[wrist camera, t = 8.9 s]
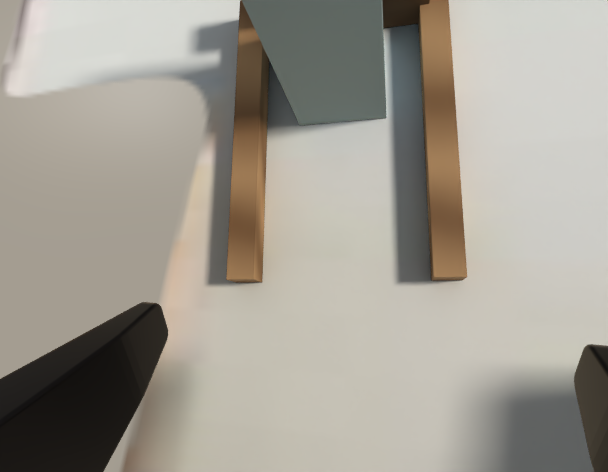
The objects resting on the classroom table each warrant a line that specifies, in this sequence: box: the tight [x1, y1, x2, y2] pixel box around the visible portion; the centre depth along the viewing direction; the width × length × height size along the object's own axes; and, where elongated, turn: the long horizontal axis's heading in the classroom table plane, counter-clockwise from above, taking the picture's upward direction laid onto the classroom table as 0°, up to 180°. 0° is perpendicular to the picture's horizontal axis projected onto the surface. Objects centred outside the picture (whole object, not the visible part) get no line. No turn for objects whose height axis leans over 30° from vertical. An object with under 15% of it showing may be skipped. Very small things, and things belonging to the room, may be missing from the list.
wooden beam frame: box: [226, 0, 467, 283], centre depth 23 cm, size 17×12×4 cm
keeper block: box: [242, 0, 386, 125], centre depth 19 cm, size 5×5×12 cm
